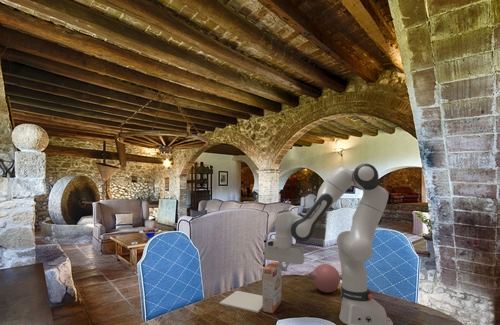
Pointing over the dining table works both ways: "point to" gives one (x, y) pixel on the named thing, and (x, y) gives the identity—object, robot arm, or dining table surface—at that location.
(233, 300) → the limestone tile
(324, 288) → the balloon
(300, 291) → the dining table surface
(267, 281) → the cracker box
